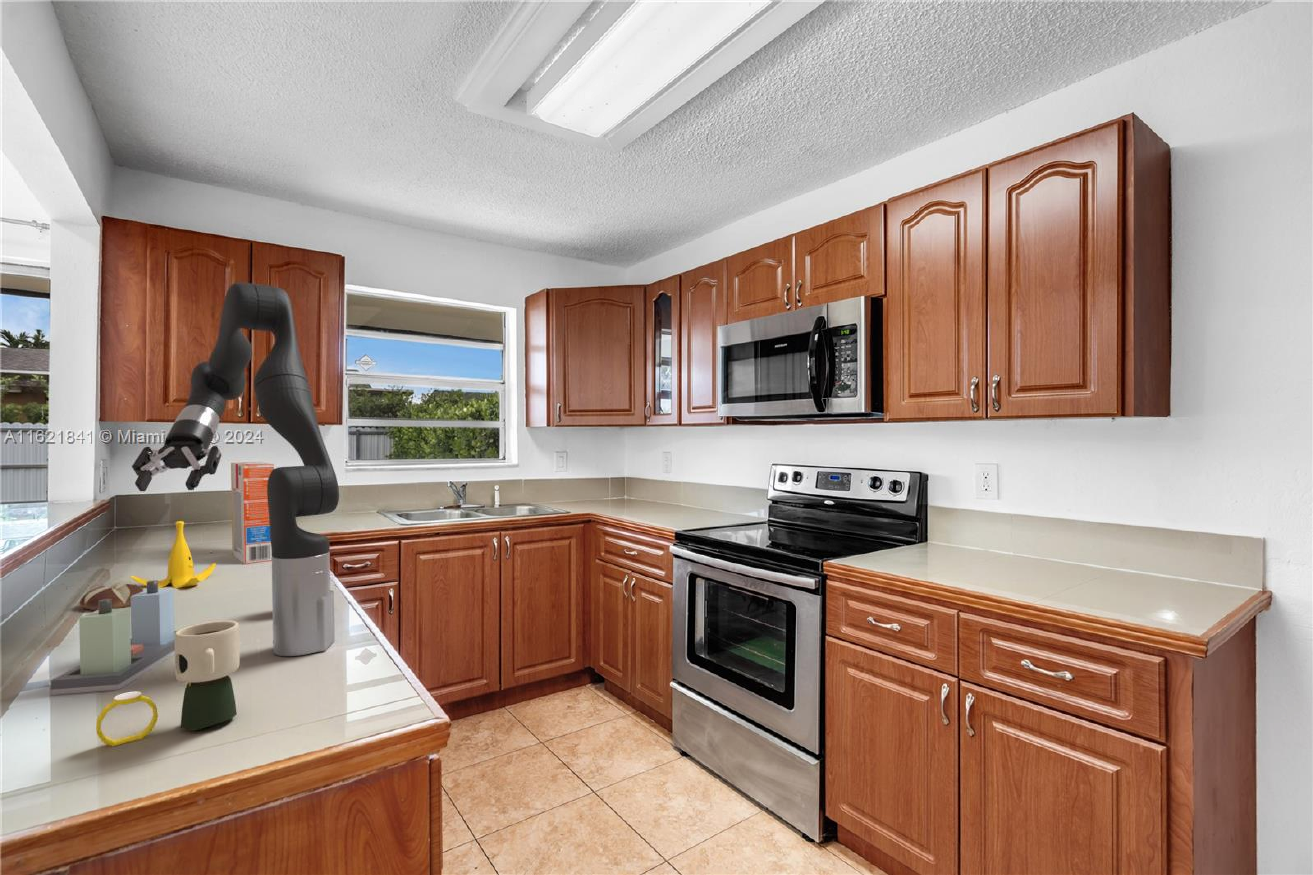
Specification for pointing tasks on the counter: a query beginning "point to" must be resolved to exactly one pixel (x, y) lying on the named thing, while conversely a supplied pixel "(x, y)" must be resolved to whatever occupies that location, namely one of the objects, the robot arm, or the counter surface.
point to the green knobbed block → (105, 639)
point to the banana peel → (180, 565)
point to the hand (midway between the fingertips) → (164, 488)
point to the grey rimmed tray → (140, 664)
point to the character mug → (207, 672)
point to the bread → (111, 595)
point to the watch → (122, 700)
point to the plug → (152, 616)
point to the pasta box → (250, 512)
